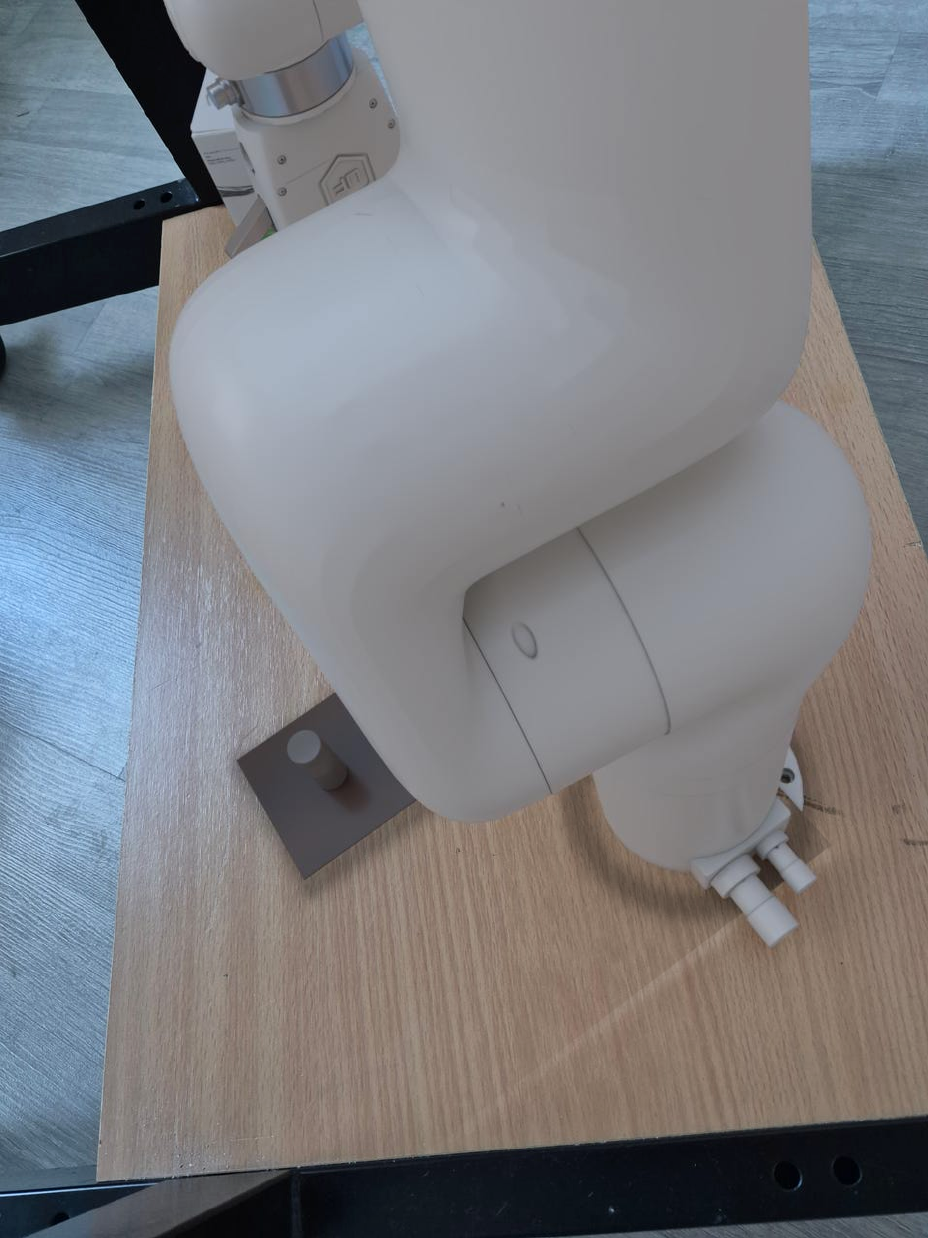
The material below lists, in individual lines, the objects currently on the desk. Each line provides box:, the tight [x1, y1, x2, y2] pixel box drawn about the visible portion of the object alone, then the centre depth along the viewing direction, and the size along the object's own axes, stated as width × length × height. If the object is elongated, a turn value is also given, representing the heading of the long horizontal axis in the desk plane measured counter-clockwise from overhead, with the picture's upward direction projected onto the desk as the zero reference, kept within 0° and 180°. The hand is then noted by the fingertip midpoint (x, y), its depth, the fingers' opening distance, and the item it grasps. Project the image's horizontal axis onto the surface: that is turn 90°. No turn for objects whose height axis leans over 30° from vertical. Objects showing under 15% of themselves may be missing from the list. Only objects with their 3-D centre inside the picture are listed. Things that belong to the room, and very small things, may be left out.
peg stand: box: [236, 691, 418, 880], centre depth 59 cm, size 9×9×6 cm
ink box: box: [190, 68, 276, 241], centre depth 80 cm, size 9×5×12 cm, turn 178°
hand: (370, 277), depth 75 cm, fingers open, 9 cm apart
